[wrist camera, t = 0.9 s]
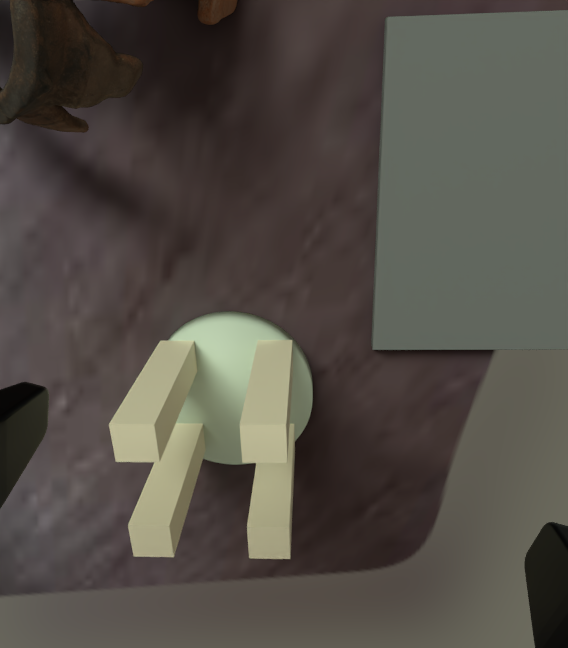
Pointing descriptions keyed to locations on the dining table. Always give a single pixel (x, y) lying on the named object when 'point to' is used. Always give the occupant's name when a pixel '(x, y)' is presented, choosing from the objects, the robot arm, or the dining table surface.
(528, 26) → the mat
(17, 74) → the brown curved piece
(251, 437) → the stool
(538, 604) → the robot arm
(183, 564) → the dining table surface
